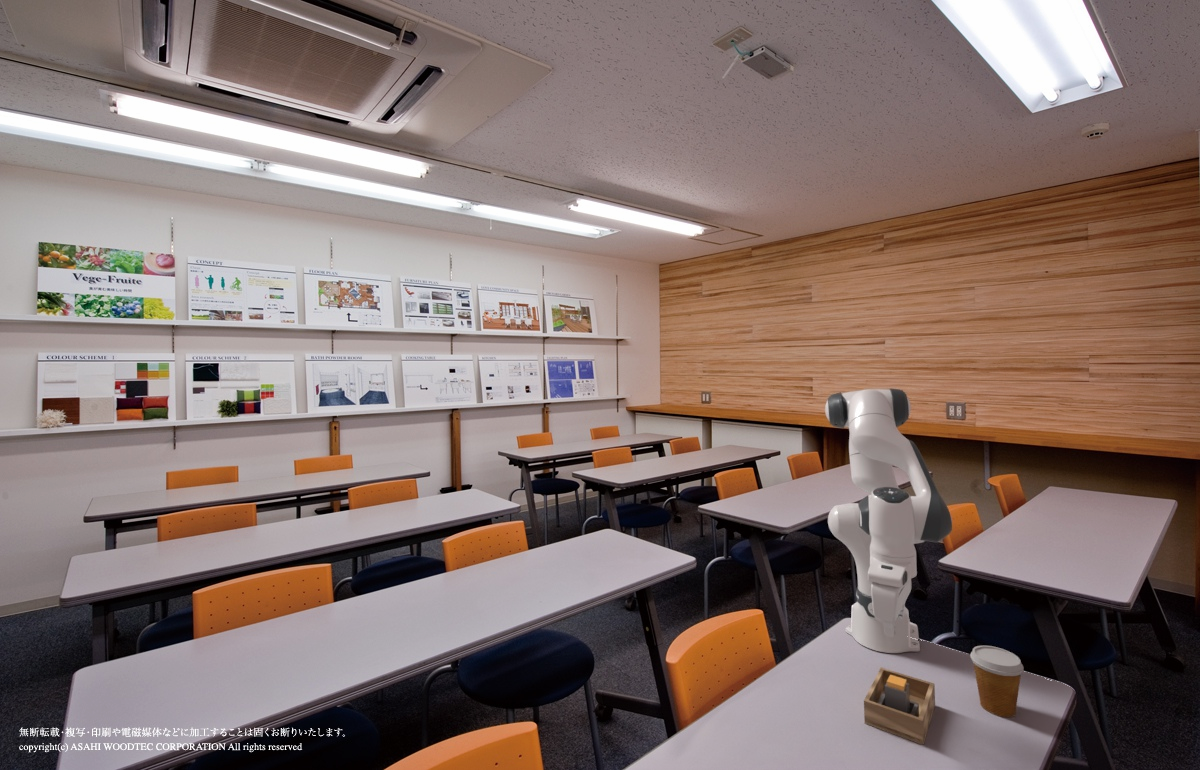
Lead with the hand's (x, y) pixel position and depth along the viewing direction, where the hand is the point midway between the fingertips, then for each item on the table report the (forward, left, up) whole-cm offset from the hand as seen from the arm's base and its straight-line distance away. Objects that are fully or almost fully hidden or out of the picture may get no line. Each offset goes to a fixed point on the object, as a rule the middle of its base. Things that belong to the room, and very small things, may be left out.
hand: (894, 625), depth 113 cm
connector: (0, 0, -20) cm, 20 cm away
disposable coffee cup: (-18, +17, -21) cm, 32 cm away
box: (-3, 0, -21) cm, 21 cm away
